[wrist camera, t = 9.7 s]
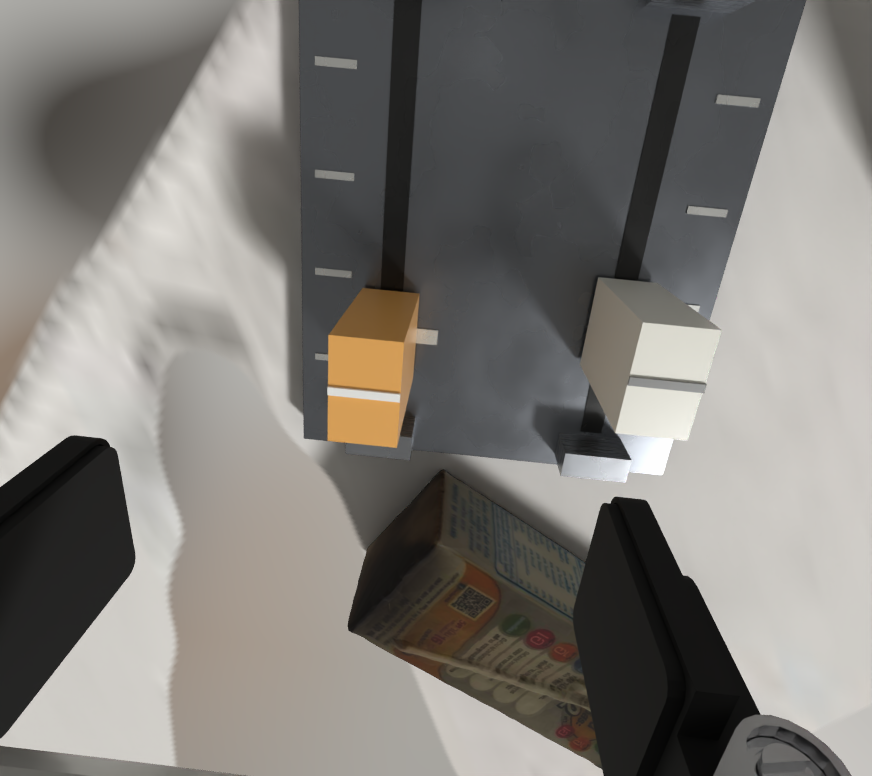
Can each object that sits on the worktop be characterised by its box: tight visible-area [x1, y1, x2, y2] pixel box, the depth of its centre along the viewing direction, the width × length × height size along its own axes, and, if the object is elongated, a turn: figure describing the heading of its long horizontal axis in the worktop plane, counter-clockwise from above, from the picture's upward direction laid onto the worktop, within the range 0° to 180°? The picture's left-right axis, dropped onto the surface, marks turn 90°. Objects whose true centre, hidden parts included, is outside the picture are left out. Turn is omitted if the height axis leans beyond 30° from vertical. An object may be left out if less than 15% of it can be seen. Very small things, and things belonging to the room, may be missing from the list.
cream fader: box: [580, 277, 722, 441], centre depth 21 cm, size 4×2×7 cm, turn 175°
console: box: [299, 0, 806, 483], centre depth 23 cm, size 21×18×4 cm
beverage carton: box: [348, 470, 602, 769], centre depth 30 cm, size 8×19×7 cm, turn 54°
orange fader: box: [327, 288, 420, 448], centre depth 22 cm, size 4×2×7 cm, turn 175°
